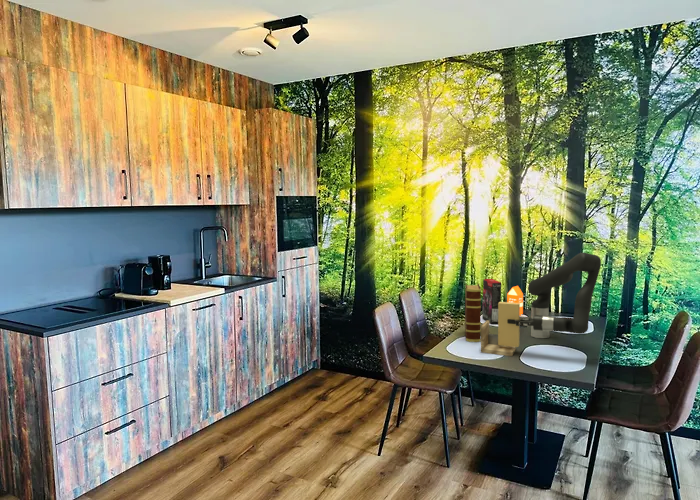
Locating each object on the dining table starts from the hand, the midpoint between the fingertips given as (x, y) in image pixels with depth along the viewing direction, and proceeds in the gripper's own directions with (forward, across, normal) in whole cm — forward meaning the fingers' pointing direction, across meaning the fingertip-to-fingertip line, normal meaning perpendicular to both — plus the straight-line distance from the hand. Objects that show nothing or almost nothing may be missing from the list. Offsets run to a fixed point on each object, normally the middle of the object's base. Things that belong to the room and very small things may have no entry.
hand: (508, 320), depth 248 cm
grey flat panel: (+6, -5, +15) cm, 16 cm away
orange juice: (+9, -91, +17) cm, 93 cm away
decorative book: (+23, -22, +17) cm, 36 cm away
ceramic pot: (-25, -63, +18) cm, 71 cm away
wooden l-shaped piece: (+5, 0, +17) cm, 17 cm away
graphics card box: (+21, -65, +17) cm, 70 cm away
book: (0, 0, +13) cm, 13 cm away
